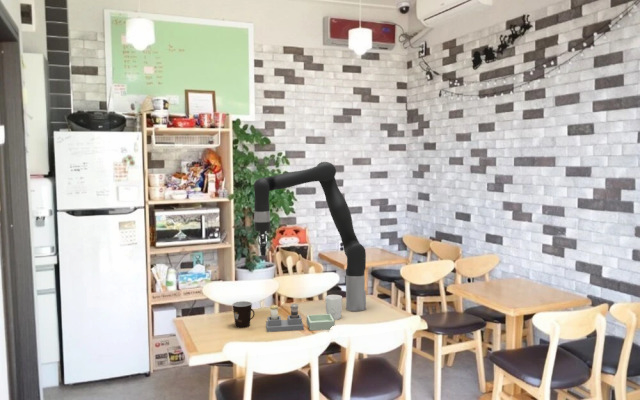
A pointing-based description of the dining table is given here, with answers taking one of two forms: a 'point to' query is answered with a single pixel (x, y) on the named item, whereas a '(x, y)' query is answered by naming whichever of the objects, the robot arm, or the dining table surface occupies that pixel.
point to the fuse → (274, 312)
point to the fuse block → (284, 324)
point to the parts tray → (320, 322)
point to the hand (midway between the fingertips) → (262, 254)
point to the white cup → (334, 306)
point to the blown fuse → (294, 311)
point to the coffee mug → (242, 313)
